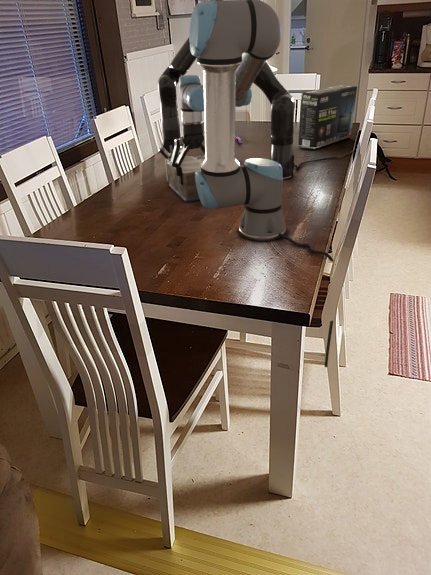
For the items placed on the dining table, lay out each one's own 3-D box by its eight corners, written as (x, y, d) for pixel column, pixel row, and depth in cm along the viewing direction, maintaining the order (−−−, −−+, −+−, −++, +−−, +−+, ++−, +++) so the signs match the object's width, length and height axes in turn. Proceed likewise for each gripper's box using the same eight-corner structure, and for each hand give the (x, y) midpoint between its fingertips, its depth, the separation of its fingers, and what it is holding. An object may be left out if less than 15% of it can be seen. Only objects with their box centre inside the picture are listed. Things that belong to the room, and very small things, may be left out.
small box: (169, 186, 193) (166, 159, 187) (193, 182, 196) (192, 156, 191) (185, 202, 176) (183, 173, 170) (212, 197, 179) (211, 169, 174)
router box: (314, 151, 231) (318, 94, 217) (296, 148, 237) (299, 92, 224) (352, 138, 251) (358, 85, 238) (335, 135, 258) (340, 83, 245)
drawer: (163, 176, 201) (160, 155, 196) (184, 173, 204) (182, 152, 200) (182, 194, 180) (180, 171, 176) (205, 190, 183) (204, 167, 179)
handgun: (221, 137, 265) (221, 133, 264) (234, 135, 266) (234, 132, 265) (229, 145, 248) (229, 141, 247) (243, 143, 249) (243, 140, 248)
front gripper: (218, 117, 172) (219, 174, 184) (157, 124, 165) (163, 183, 176) (226, 120, 166) (227, 179, 178) (163, 128, 159) (169, 189, 170)
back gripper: (182, 124, 195) (185, 164, 204) (152, 128, 191) (157, 169, 200) (188, 127, 189) (191, 168, 198) (158, 131, 185) (162, 173, 194)
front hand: (195, 181), depth 177 cm, fingers closed on small box, 11 cm apart
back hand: (174, 168), depth 199 cm, fingers closed
